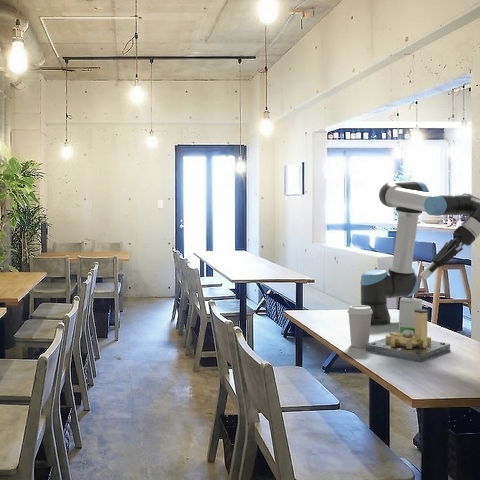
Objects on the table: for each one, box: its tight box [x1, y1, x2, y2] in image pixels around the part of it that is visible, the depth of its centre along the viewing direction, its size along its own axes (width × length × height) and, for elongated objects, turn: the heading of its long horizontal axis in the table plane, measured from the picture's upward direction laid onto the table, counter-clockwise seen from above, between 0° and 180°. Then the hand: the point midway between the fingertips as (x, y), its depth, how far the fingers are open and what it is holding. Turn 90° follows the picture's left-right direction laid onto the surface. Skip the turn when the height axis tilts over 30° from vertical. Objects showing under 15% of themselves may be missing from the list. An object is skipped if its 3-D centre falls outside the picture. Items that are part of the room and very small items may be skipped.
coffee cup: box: [346, 304, 373, 349], centre depth 222 cm, size 10×10×15 cm
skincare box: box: [398, 297, 423, 334], centre depth 237 cm, size 8×7×16 cm
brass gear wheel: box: [385, 308, 432, 349], centre depth 214 cm, size 16×16×13 cm
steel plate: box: [365, 330, 451, 363], centre depth 215 cm, size 22×22×7 cm
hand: (422, 277), depth 216 cm, fingers closed
